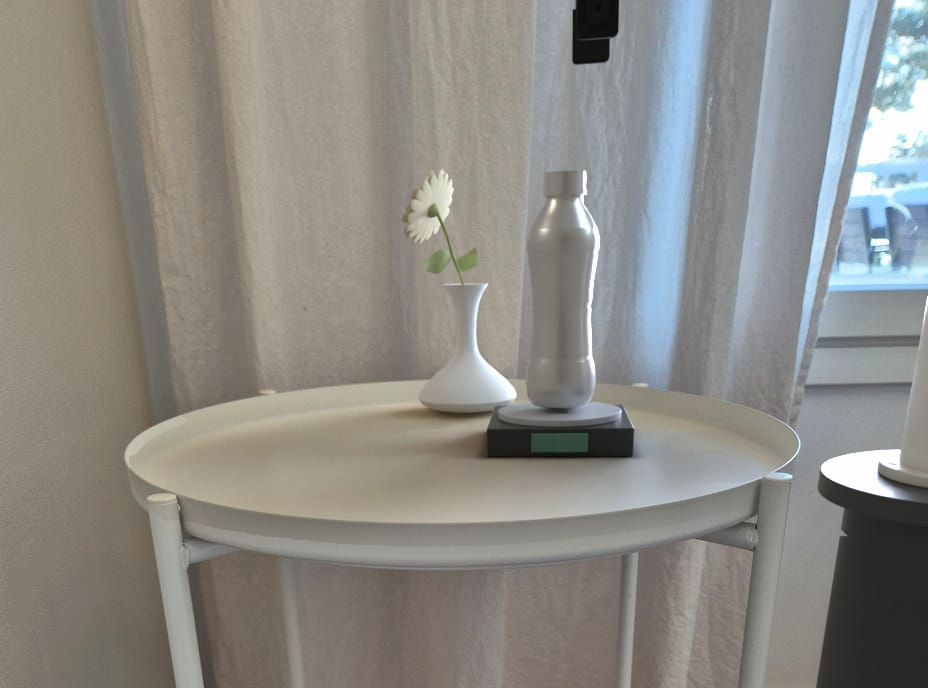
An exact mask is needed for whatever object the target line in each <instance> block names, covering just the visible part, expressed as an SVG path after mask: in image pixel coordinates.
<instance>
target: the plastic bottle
mask: <svg viewBox="0 0 928 688" xmlns="http://www.w3.org/2000/svg"><path fill="white" fill-rule="evenodd" d="M543 174H544V175H543V189H542V191H541V197H544V198H545V202H544V205H543V207H542V208H541V209H540V211H539V213H538V214H537V215H536V217H535V219H534V221H533V223H532V225H531V226H530V228H529V230H528V234H527V238H526V251H527V254H528V255H527V260H528V261H527V262H528V268H529V275H530V276H529V277H530V284H531V303H532V323H531V324H532V325H531V339H530V349H529V355H530V356H529V358H528V361H527V366H526V374H525V387H526V388H525V389H526V394H527V398H528V400H529V402H531V403H532V404H533V405H535V406H539V407H543V408H547V409H551V410H554V411H565V410H569V409H573V408H577V407H581V406H585V405H587V404H588V403H589V401H591V400H592V399H593V397H594V394H595V393H594V392H595V389H596V388H595V387H596V382H597V379H596V367H595V361H594V357H593V345H592V322H591V321H592V320H591V319H592V318H591V317H592V307H591V305H592V302H593V292H594V282H595V281H594V280H595V275H596V270H597V262H598V256H599V253H598V252H599V250H600V240H601V238H600V234H599V230H598V229H599V228H598V226H597V225H596V222H595V220H594V218H593V216H592V214H591V213H590V212H589V209H588V208H587V206H585V204H584V196H587V195H588V189H587V171H586V170H557V171H548V172H544V173H543Z"/></svg>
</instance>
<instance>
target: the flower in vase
mask: <svg viewBox="0 0 928 688" xmlns="http://www.w3.org/2000/svg"><path fill="white" fill-rule="evenodd" d="M454 190H455V189H454V186H453V179H452V178H450V179H449V174H448V173H447V172H445V170H444V169H443V168H440V169H439V170H438V172H437V175H436V174H435V171H434V170H430V171H429V172H428V174H427V175H426V176H424V177H423V178H422V182H421V183H420V189H417V188H415V189H412V191H411V193H410V199H411V200H410V202H409V203H408V204H407V205H406V207H405V213H404V214H402V217H401V222H402V223H403V224H406V225H405V226H404V228H403V230H402V234H403V235H404V236H405V238H406V239H412V244H413V245H416V244H419V245H420V244H422V243H423V242H424V241H428V240H429V239H430V238H431V236H432V235H433V236H435V235H437V233H438V232H439V230H440V227H441V229H442V232H443V234H444V236H445V239H446V242H447V247H448V250H449V252H448V251H447V250H446V249H440V250H436V251H435V252H434V253H433V254H432V255H431V256H429V257H428V259H426V262H425V263H424V266H423V269H424V270H425V271H426V272H428V273H431V274H435V275H437V274H440V273H442V272H443V271H444V270H445V269H446V267H447V266H448V265H449V264H450V262H451V260H452V262H453V264H454V267H455V269H456V272H457V275H458V277H459V280H460V283H445V284H442V287H443V288H444V289H445V291H446V293H447V294H448V296H449V299H450V301H451V304H452V309H453V313H454V319H455V329H456V331H455V332H456V344H455V350H454V353H453V355H452V357H451V358H450V360H449V361H448V362H447V363H446V364H445V365H444V366H443V367H441V368H440V370H438V372H436V373H435V374H434V375H433V376H432V377H431V378H430V379H429V380H428V381H427V382H426V383H425V385H424V386H423V387H422V388H421V389H420V391H419V394H418V400H419V402H420V403H421V404H422V405H423V406H425V407H427V408H429V409H432V410H434V411H440V412H445V413H454V414H474V413H485V412H490V411H494V408H495V406H508V405H512V404H513V403H514V401H515V399H516V398H517V397H518V396H517V392H516V389H515V387H514V386H513V385H512V384H511V383H510V381H509V380H507V378H506V377H504V375H502V374H501V373H500V372H498V371H497V370H496V369H495V368H494V367H493V366H491V365H490V364H489V363H488V362H487V361H486V360H485V359H484V358H483V356H482V355H481V353H480V351H479V348H478V341H477V319H478V311H479V305H480V302H481V299H482V296H483V294H484V292H485V290H486V289H487V287H488V286H489V283H488V282H465V280H464V277H463V272H467V271H469V270H471V269H474V268H476V267H478V265H479V264H480V258H479V253H478V249H477V247H473V248H472V249H471V250H470V251H468V252H467V253H464V254H463V255H461V256H459V257H458V258H456V255H455V252H454V250H453V246H452V242H451V239H450V236H449V233H448V231H447V228H446V225H445V219H446V218H447V217H448V216H449V214H450V208H449V207H450V206H451V204H452V201H453V196H452V195H453V194H454Z"/></svg>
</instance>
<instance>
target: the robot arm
mask: <svg viewBox="0 0 928 688" xmlns="http://www.w3.org/2000/svg"><path fill="white" fill-rule="evenodd" d="M574 2H575V3H574V7H575V8H573V9H572V34H571V35H572V39H571V41H572V42H571V43H572V45H571V46H572V47H571V49H572V50H571V62H572V64H573V65H575V66H581V65H596V64H597V65H598V64H606V63H608V62H609V59H610V53H611V52H610V51H611V39H615V38H616V37H617V36H618V34H619V30H620V29H619V26H620V25H619V24H620V0H575V1H574ZM923 315H924V316H923V321H922V326H921V332H920V336H919V337H920V338H919V342H918V349H917V353H916V359H915V364H914V371H913V377H912V382H911V388H910V394H909V399H908V404H907V410H906V416H905V421H904V426H903V432H902V438H901V443H900V448H899V450H900V451H896V452H892V453H888V454H885V455H883V456H882V457H881V458H879V462H878V467H877V470H878V472H879V473H880V474H881V475H882V476H884V477H886V478H888V479H890V480H893V481H896V482H899V483H903V484H907V485H911V486H916V487H921V488H927V489H928V297H926V304H925V309H924V314H923Z"/></svg>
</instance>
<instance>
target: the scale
mask: <svg viewBox="0 0 928 688" xmlns="http://www.w3.org/2000/svg"><path fill="white" fill-rule="evenodd" d="M492 411H493V412H492V413H491V417H490V420H489V422H488V425H487V429H486V457H487V458H515V457H516V458H530V457H531V458H534V457H535V458H537V457H543V458H544V457H545V458H549V457H550V458H552V457H554V458H557V457H559V458H560V457H562V458H563V457H564V458H567V457H569V458H570V457H571V458H573V457H574V458H576V457H579V458H580V457H581V458H582V457H583V458H585V457H586V458H587V457H590V458H591V457H634V440H635V439H634V438H635V428H634V426H633V423H632V421H631V418H630V417H629V414H628V412H627V410H626V408H625V406H624V404H611V403H607V402H606V403H605V402H599V401H591V400H590V401H589V403H588V404H587V405H585V406H581V407H577V408H573V409H569V410H565V411H554V410H551V409H547V408H543V407H539V406H535V405H533V404H532V403H531V401H525V402H518V403H511V404H509V405H507V406H495V408H494V410H492Z"/></svg>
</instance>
